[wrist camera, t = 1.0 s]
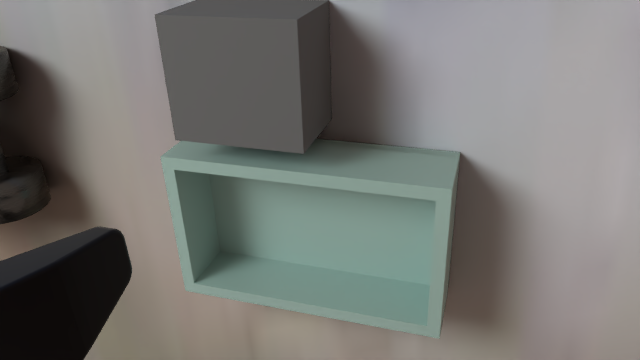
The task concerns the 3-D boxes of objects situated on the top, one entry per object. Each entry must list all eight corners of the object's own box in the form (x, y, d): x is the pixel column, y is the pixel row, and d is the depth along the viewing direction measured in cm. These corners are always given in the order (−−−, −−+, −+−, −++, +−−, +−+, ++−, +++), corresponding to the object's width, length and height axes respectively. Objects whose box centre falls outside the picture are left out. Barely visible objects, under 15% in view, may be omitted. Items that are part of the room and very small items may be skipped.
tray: (447, 290, 24) (439, 338, 21) (217, 252, 27) (185, 290, 24) (460, 152, 21) (451, 189, 18) (198, 127, 24) (160, 156, 21)
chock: (332, 117, 22) (303, 153, 19) (219, 107, 23) (175, 140, 20) (330, -1, 20) (297, 19, 17) (205, -4, 21) (154, 14, 18)
